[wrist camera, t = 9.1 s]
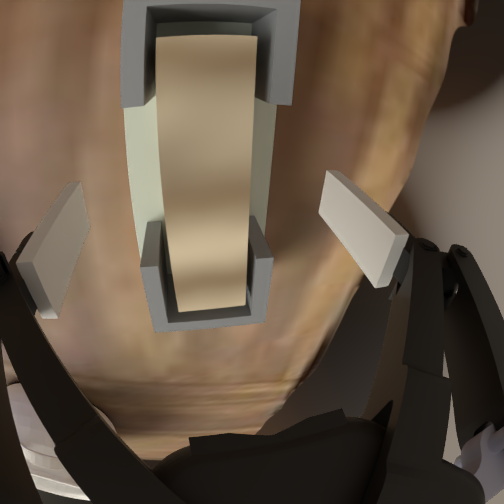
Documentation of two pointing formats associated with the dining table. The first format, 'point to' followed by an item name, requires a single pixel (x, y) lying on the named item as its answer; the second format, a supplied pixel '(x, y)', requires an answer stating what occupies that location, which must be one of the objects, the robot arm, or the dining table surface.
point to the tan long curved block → (206, 163)
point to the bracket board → (146, 138)
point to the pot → (42, 447)
